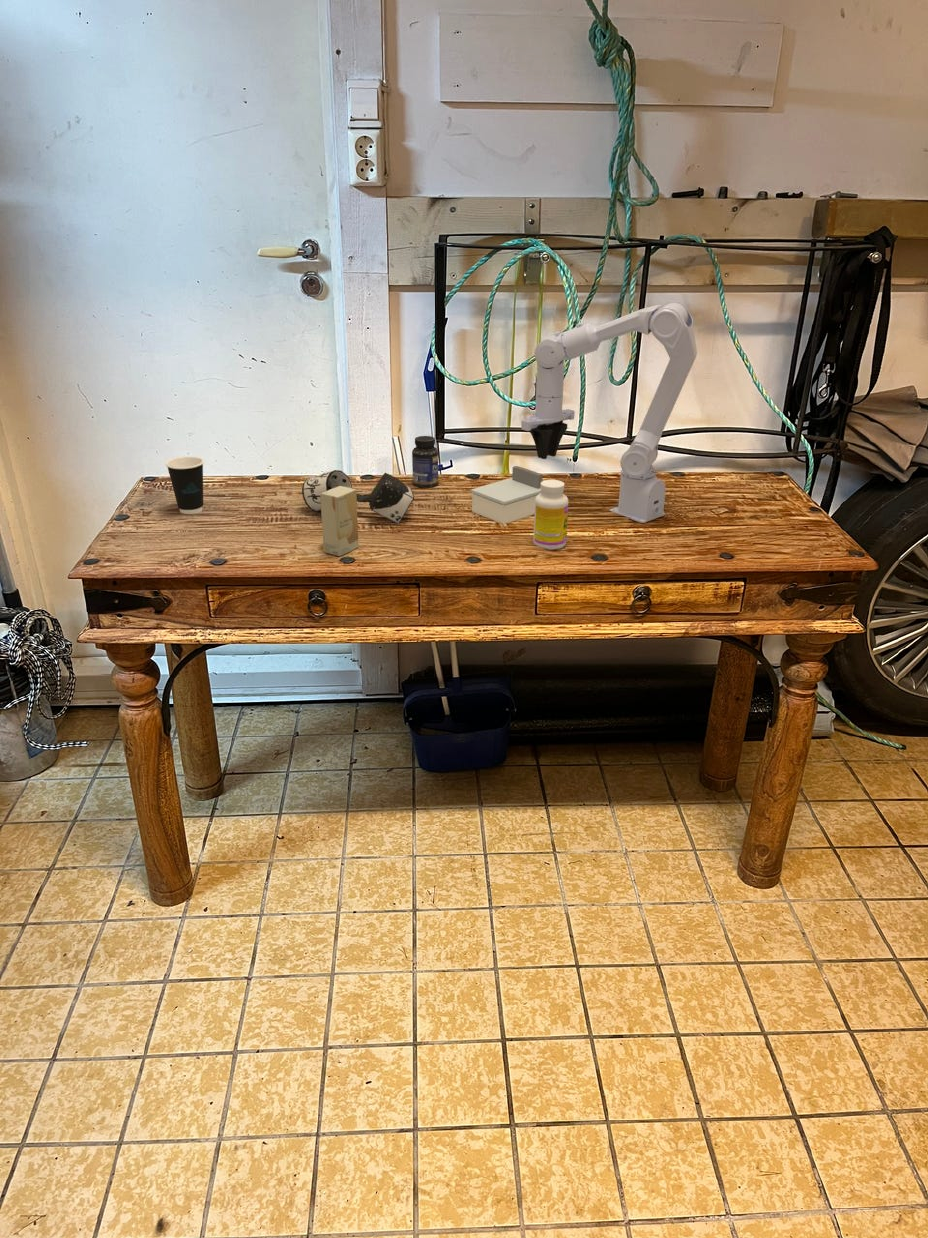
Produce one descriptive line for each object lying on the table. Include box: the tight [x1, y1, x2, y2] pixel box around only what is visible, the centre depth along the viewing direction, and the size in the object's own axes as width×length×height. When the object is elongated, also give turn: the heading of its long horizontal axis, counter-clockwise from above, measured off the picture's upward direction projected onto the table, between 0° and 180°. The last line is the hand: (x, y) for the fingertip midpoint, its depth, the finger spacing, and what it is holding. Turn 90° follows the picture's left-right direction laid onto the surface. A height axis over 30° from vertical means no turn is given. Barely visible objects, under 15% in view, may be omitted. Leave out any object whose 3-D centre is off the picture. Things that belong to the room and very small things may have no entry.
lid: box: [470, 465, 543, 505], centre depth 203 cm, size 12×10×4 cm
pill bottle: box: [411, 435, 440, 489], centre depth 221 cm, size 6×6×11 cm
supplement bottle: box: [532, 479, 569, 551], centre depth 187 cm, size 7×7×13 cm
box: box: [471, 493, 539, 525], centre depth 205 cm, size 12×10×5 cm
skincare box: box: [320, 486, 359, 557], centre depth 184 cm, size 6×4×12 cm
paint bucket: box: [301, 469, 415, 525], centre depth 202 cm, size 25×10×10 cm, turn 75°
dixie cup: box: [165, 456, 205, 515], centre depth 204 cm, size 8×8×11 cm
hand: (546, 456), depth 208 cm, fingers open, 2 cm apart
